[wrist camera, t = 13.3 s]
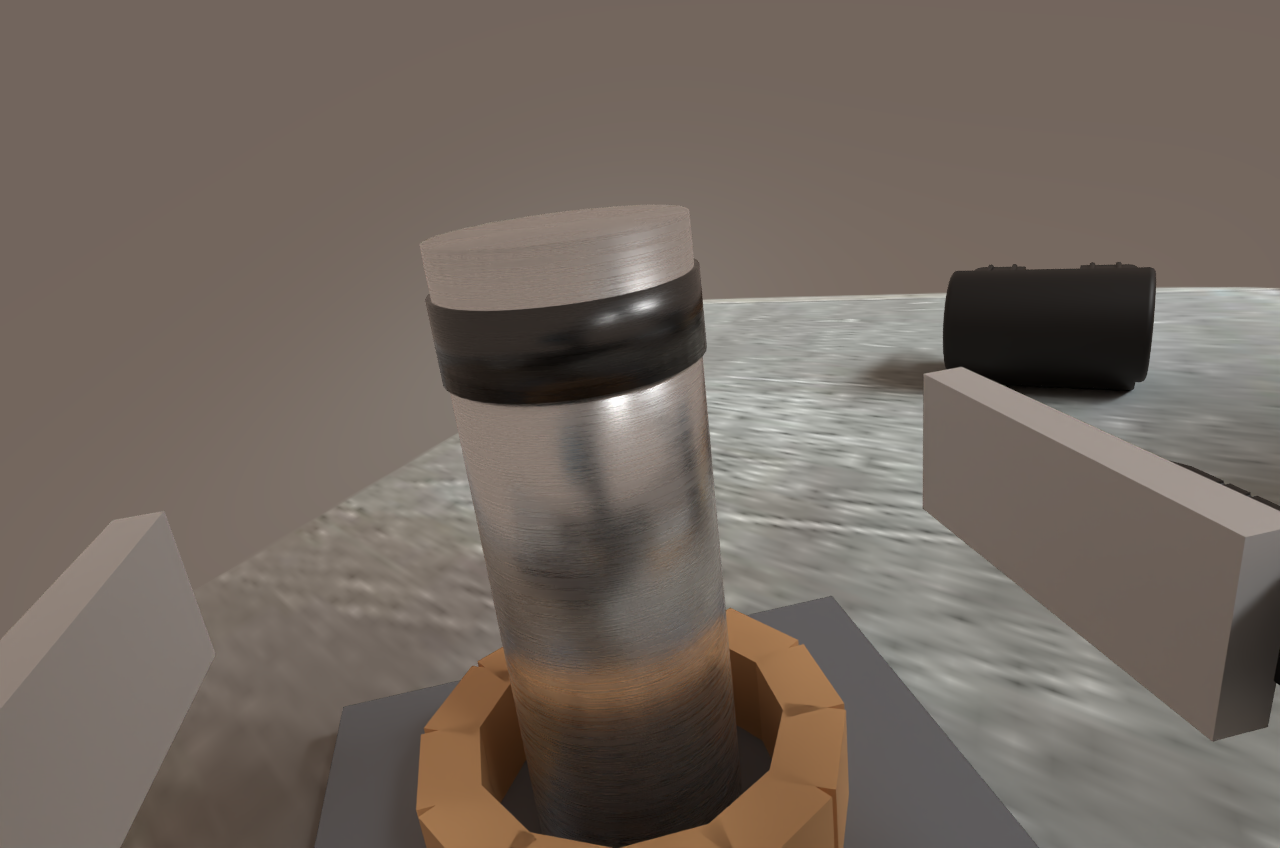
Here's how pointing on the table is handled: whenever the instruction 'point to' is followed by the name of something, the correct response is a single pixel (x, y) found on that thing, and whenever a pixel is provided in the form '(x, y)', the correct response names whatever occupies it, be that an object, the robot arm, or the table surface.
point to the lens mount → (767, 742)
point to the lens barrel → (595, 508)
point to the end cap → (1052, 325)
